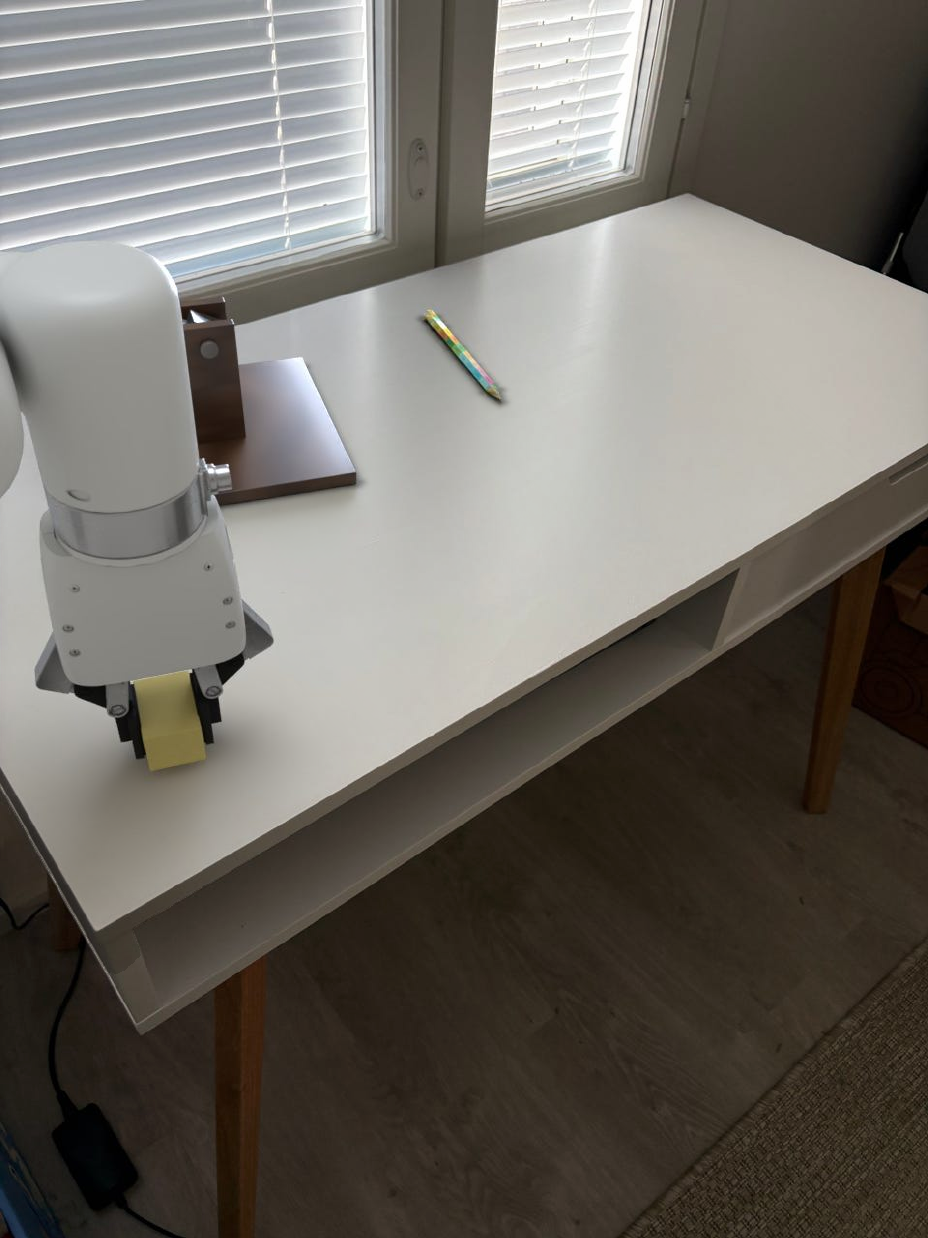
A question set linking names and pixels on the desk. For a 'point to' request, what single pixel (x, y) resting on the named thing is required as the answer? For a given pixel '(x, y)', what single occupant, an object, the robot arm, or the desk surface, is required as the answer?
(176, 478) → the robot arm
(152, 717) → the butter
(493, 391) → the pencil
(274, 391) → the slicer
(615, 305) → the desk surface
